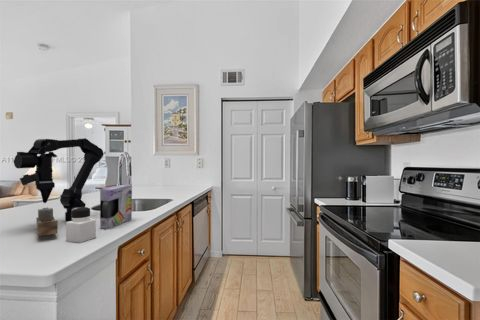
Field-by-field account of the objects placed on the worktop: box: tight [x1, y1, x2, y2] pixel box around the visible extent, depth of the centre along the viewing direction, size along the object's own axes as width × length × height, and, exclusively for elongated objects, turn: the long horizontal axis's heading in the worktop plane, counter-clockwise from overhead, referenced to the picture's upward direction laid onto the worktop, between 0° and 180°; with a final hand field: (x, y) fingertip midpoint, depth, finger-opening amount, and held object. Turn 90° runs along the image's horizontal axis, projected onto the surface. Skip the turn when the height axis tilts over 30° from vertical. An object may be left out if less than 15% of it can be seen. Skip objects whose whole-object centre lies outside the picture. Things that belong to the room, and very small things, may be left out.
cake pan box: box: [99, 184, 133, 230], centre depth 127 cm, size 19×5×18 cm, turn 170°
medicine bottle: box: [65, 206, 97, 244], centre depth 104 cm, size 7×7×12 cm
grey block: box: [37, 207, 54, 222], centre depth 116 cm, size 5×4×6 cm
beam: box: [35, 216, 59, 237], centre depth 111 cm, size 6×23×7 cm, turn 38°
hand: (44, 202), depth 121 cm, fingers closed
